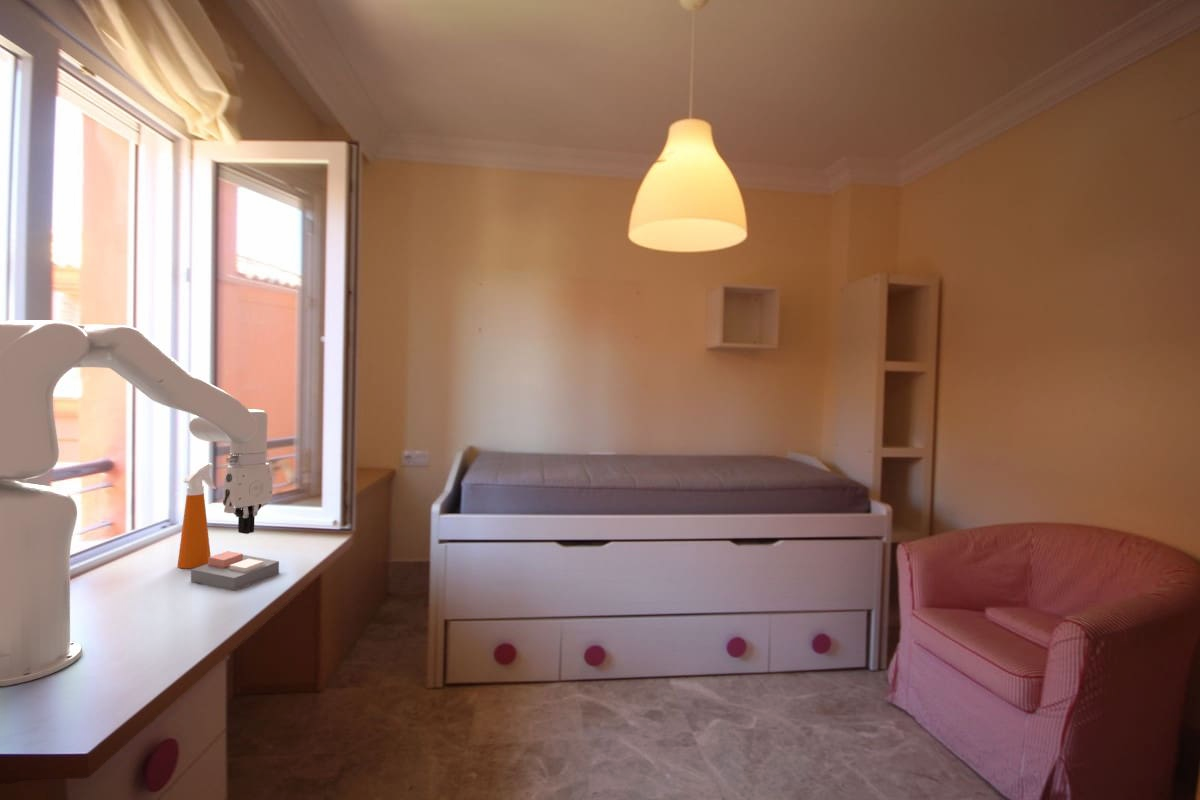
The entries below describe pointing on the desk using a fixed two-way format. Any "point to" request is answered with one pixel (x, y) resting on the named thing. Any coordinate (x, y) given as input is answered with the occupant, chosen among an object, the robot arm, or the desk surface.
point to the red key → (225, 559)
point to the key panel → (233, 574)
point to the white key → (246, 565)
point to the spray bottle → (195, 521)
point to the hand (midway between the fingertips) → (246, 532)
